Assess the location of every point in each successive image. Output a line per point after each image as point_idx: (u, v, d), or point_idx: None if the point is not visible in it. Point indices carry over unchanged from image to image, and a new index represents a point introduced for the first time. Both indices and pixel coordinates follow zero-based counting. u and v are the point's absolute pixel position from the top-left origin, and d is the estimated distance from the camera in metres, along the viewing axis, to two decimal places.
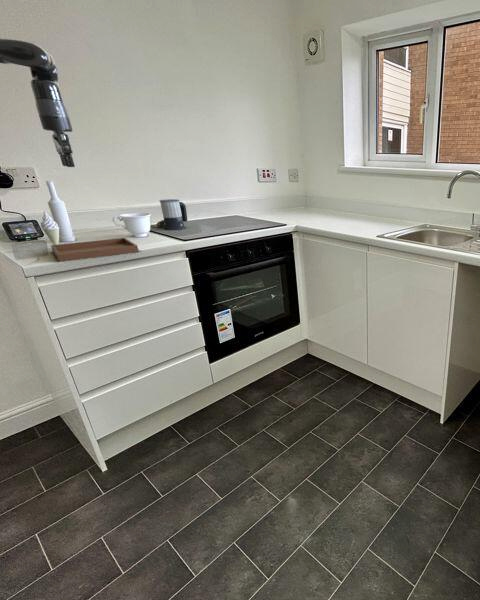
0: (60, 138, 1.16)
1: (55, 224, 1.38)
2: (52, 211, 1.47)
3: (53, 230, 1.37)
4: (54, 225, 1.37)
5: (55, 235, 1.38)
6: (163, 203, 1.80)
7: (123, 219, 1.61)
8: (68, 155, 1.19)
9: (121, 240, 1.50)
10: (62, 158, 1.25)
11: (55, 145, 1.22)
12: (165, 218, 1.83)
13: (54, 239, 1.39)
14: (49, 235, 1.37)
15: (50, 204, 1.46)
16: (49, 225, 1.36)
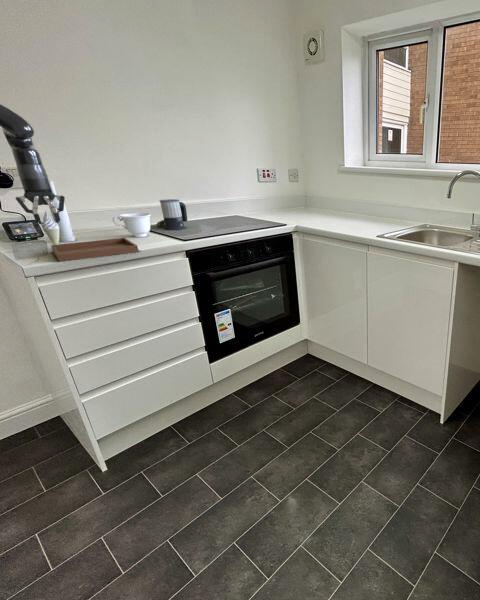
0: None
1: (56, 224, 1.38)
2: (52, 211, 1.47)
3: (53, 230, 1.37)
4: (55, 225, 1.37)
5: (55, 235, 1.38)
6: (163, 203, 1.80)
7: (123, 219, 1.61)
8: None
9: (121, 240, 1.50)
10: (54, 215, 1.38)
11: None
12: (165, 218, 1.83)
13: (54, 239, 1.39)
14: (49, 235, 1.37)
15: None
16: (50, 225, 1.36)
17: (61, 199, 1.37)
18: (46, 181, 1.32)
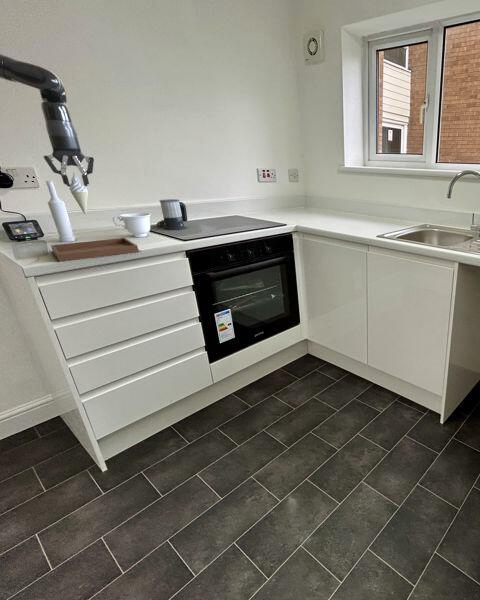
0: (45, 160, 1.22)
1: (84, 187, 1.30)
2: (52, 211, 1.47)
3: (82, 193, 1.29)
4: (83, 188, 1.30)
5: (84, 199, 1.31)
6: (163, 203, 1.80)
7: (123, 219, 1.61)
8: None
9: (121, 240, 1.50)
10: (82, 178, 1.30)
11: None
12: (165, 218, 1.83)
13: (82, 203, 1.31)
14: (77, 198, 1.29)
15: (50, 204, 1.46)
16: (78, 188, 1.28)
17: (90, 160, 1.29)
18: (75, 140, 1.24)
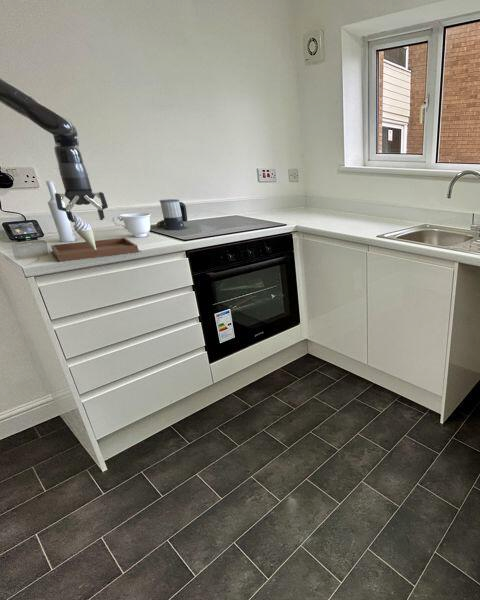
0: (55, 197, 1.26)
1: (87, 225, 1.34)
2: (52, 211, 1.47)
3: (87, 231, 1.34)
4: (87, 226, 1.34)
5: (90, 237, 1.35)
6: (163, 203, 1.80)
7: (123, 219, 1.61)
8: (65, 211, 1.29)
9: (121, 240, 1.50)
10: (98, 213, 1.36)
11: None
12: (165, 218, 1.83)
13: (90, 240, 1.36)
14: (84, 237, 1.34)
15: (50, 204, 1.46)
16: (82, 227, 1.32)
17: (101, 196, 1.34)
18: (87, 180, 1.29)
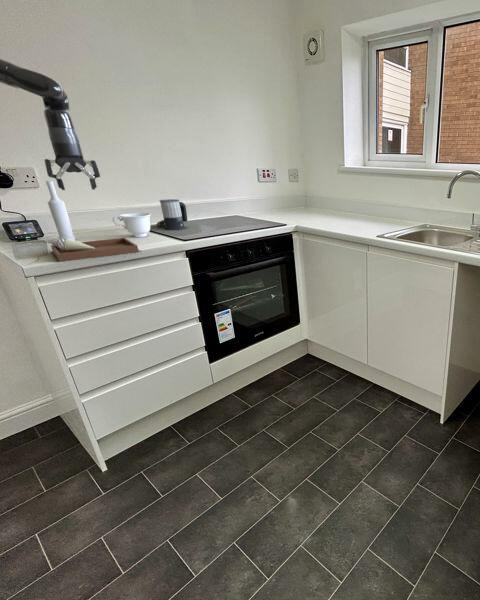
0: (45, 163, 1.22)
1: (64, 238, 1.35)
2: (52, 211, 1.47)
3: (68, 239, 1.34)
4: (64, 238, 1.34)
5: (76, 241, 1.35)
6: (163, 203, 1.80)
7: (123, 219, 1.61)
8: None
9: (121, 240, 1.50)
10: (90, 182, 1.32)
11: None
12: (165, 218, 1.83)
13: (80, 244, 1.36)
14: (73, 245, 1.35)
15: (50, 204, 1.46)
16: (61, 240, 1.33)
17: (93, 164, 1.30)
18: (78, 147, 1.25)
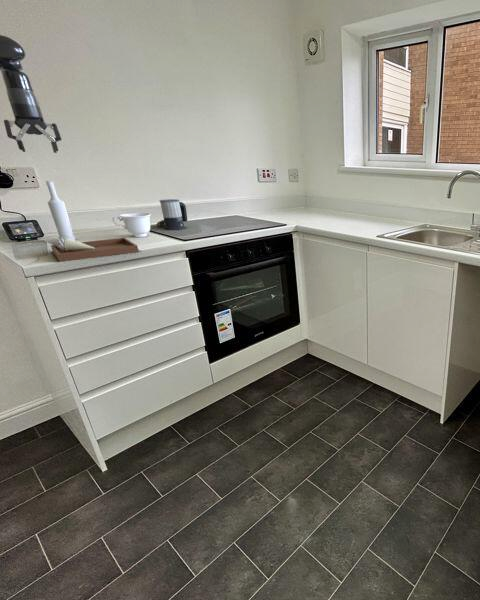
0: None
1: (64, 238, 1.35)
2: (52, 211, 1.47)
3: (68, 239, 1.34)
4: (64, 238, 1.34)
5: (76, 242, 1.35)
6: (163, 203, 1.80)
7: (123, 219, 1.61)
8: None
9: (121, 240, 1.50)
10: None
11: None
12: (165, 218, 1.83)
13: (80, 244, 1.36)
14: (73, 245, 1.34)
15: (50, 204, 1.46)
16: (61, 240, 1.33)
17: (54, 127, 1.33)
18: (37, 109, 1.27)
